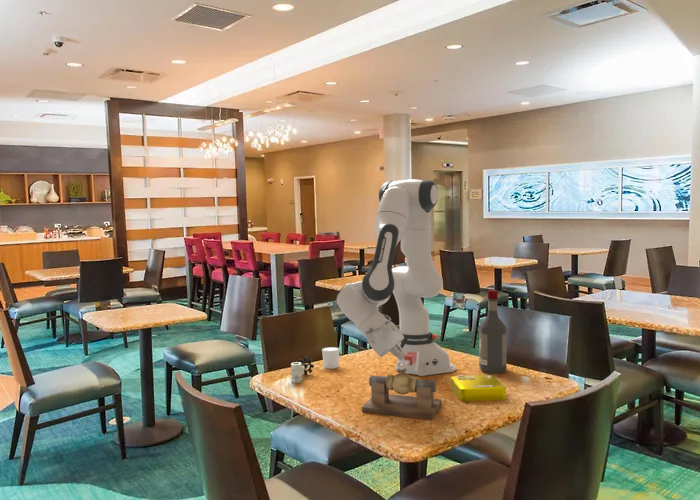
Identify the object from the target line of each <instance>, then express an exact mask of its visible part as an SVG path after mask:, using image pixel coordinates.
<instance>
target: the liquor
mask: <svg viewBox="0 0 700 500" xmlns="http://www.w3.org/2000/svg"><path fill="white" fill-rule="evenodd" d="M498 295H499V293H498V290H497V289H488V290H487V300H488V305H487V308H488V309H487V316H486V317H485V318H484V319H483V320H482V321H481V322H480V323H479V326H478V329H479V330H478V331H479V332H478V336H479V337H478V344H479V345H478V348H479V349H478V357H479V358H478V359H479V361H478V362H479V363H478V364H479V365H478V366H479V369H480V370H481V372H482V373H486V374H503V373H506V371H507V349H508V348H507V345H508V343H507V339H508V338H507V333H508V332H507V330H508V329H507V327H506V325H505V324H504V322H503V321H502V320H501V319H500V317H499V314H498V299H499V297H498Z"/></svg>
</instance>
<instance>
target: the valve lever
mask: <svg viewBox="0 0 700 500" xmlns="http://www.w3.org/2000/svg"><path fill="white" fill-rule="evenodd" d="M416 361H417V352H408V353H407V354H406V355H405V361H404V362H402V363H398V364H397V363H396V365H397V370H396V371H397V372H399V371H401V372H403V371H407V366H408V365H413V364H414V363H415V362H416Z"/></svg>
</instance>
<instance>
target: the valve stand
mask: <svg viewBox="0 0 700 500" xmlns="http://www.w3.org/2000/svg"><path fill="white" fill-rule="evenodd" d="M368 385H369V387H371V388H370V391H371V392H370V394H371V395H370V396H371V397H370V399H369V400H368V401H367V402H365V403H364V404H363V405H362V406H361V413H369V414H377V415H384V416H393V417H394V416H395V417H404V418H413V419H418V420H419V419H420V420H429V421H433V419H434V417H435V415H436V414H437V413H438V411H439V409H440V408H441V407H442V404H443V403H442V399H439V398H434V397H435V396H434V394H435V393H436V390H437V381H436V380H428V379H427V380H425V379H419V378H418V377H415V376H410V374H407V373H405V371H403V372H401V371H398V373H397V374H395V375H394V374H387V376H384V375H383V376H382V375H374V374H373V375H370V376H369V379H368ZM390 391H394V392H395V393H397V394H390V393H389V392H390ZM409 393H416V396H411V395H410V396H409V395H407V394H409Z"/></svg>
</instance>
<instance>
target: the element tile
mask: <svg viewBox="0 0 700 500" xmlns="http://www.w3.org/2000/svg"><path fill="white" fill-rule="evenodd" d="M450 390H451V392H453V393H454V395H455V396H456V398H458V400H459V401H462V402H465V403H466V402H489V401H491V402H492V401H494V402H495V401H505V400H507V386H506V385H505V384H504V383H503V382H501V381H500V380H499V379H498V378H497V377H496V376H494V375H492V374H477V375H476V374H475V375H473V374H472V375H471V374H470V375H464V374H463V375H453V376H451V377H450Z"/></svg>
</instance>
